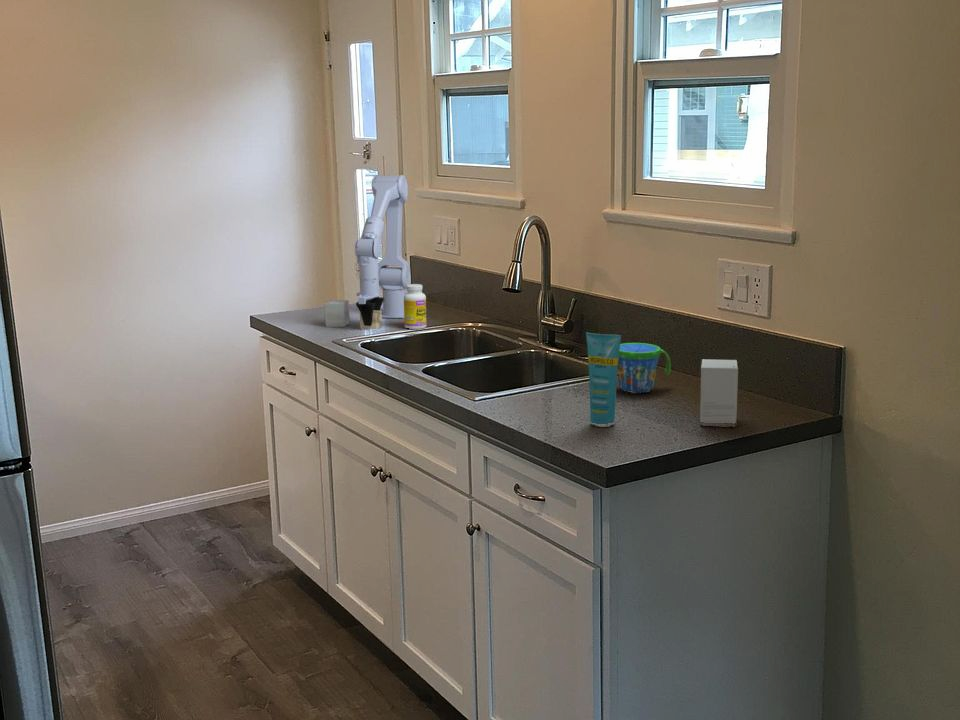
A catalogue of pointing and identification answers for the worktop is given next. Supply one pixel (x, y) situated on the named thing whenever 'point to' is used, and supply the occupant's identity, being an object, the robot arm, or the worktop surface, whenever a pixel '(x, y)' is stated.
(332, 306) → the skincare box
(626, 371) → the snack cup
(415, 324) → the supplement bottle
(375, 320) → the block
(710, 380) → the supplement box
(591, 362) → the tube
